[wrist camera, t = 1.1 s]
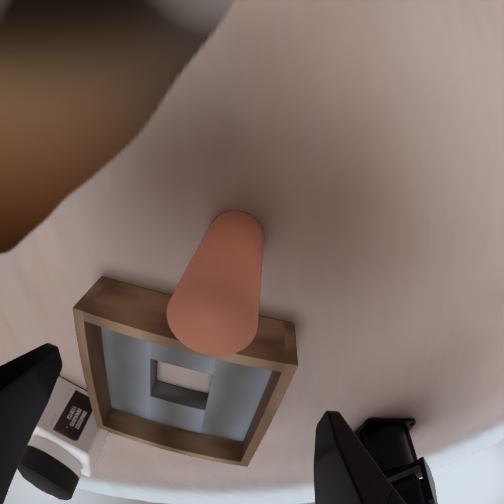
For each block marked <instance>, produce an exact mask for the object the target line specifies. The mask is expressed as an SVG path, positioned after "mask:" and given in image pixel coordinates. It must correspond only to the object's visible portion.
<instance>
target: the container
mask: <svg viewBox="0 0 504 504" xmlns="http://www.w3.org/2000/svg"><path fill="white" fill-rule="evenodd" d="M108 434H109V431H106V430H104V429H101V428H98V427H97V425H96V422H95V418H94V414H93V411H92V407H91V403H90V399H89V395H88V392H87V391H85V390H83V389H81V388H80V387H78V386H76V385H74V384H72V383H70V382H68V381H67V380H65V379H63V378H61V377H58V379H57V381H56V384H55V386H54V389H53V392H52V394H51V397H50V399H49V402H48V404H47V406H46V408H45V410H44V412H43V414H42V416H41V418H40V420H39V422H38V424H37V426H36V428H35V430H34V432H33V434H32V436H31V439H32V440H30V441H29V443H28V445H27V447H26V449H25V451H24V453H23V456H22V458H21V460H20V463H19V465H18V467H17V469H18V470H19V472H20V473H21V475H22V476H23V477H24V478H25V479H26V480H27V481H28V482H30V483H31V484H32V485H34V486H35V487H36V488H38V489H40V490H41V491H43V492H45V493H46V494H48V495H50V496H52V497H54V498H57V499H62V500H69V499H71V498H72V495H73V493H74V490H75V488H76V486H77V483H78V481H79V478H80V476H81V473H82V474H84V475H86V476H88V477H89V476H91V474H92V472H93V469H94V467H95V464H96V462H97V460H98V457H99V455H100V452H101V450H102V448H103V445H104V443H105V441H106V438H107V436H108Z"/></svg>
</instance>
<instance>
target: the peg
mask: <svg viewBox="0 0 504 504" xmlns="http://www.w3.org/2000/svg"><path fill="white" fill-rule="evenodd" d="M263 243H264V235H263V230H262V228H261V226H260V224H259V223H258V221H257V220H256V219H255V218H254V217H252V216H251V215H249V214H247V213H245V212H241V211H228V212H225V213H222V214H221V215H219V216H218V217H216V218H215V219H214V221H213V222H212V223H211V225H210V227H209V229H208V230H207V232H206V234H205V236H204V238H203V239H202V241H201V243H200V245H199V247H198V248H197V250H196V252H195V254H194V256H193V257H192V259H191V261H190V263H189V265H188V267H187V269H186V270H185V272H184V274H183V276H182V278H181V280H180V282H179V284H178V285H177V287H176V289H175V291H174V293H173V295H172V297H171V299H170V301H169V303H168V306H167V321H168V324H169V327H170V329H171V331H172V332H173V334H174V335H175V336H176V338H177V339H178V340H179V341H180V342H181V343H183V344H184V345H185V346H187V347H188V348H190V349H192V350H194V351H196V352H199V353H202V354H206V355H211V356H225V355H230V354H234V353H237V352H239V351H241V350H242V349H244V348H245V347H247V346H248V345H249V344H250V343H251V342H252V340H253V339H254V337H255V335H256V332H257V328H258V316H259V301H260V287H261V273H262V258H263Z"/></svg>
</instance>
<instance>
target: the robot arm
mask: <svg viewBox="0 0 504 504" xmlns="http://www.w3.org/2000/svg"><path fill="white" fill-rule="evenodd" d="M61 369H62V360H61V357H60V353H59V349H58V347H57V346H55V345H52V344H50V343H46V344H44V345H42V346H40V347H38V348H36V349H34V350H32V351H30V352H28V353H26V354H24V355H22V356H20V357H18V358H16V359H14V360H12V361H10V362H8V363H6V364H4V365H2V366H0V504H3V502H4V500H5V497H6V495H7V492H8V489H9V486H10V484H11V481H12V479H13V477H14V474H15V472H16V469H17V467H18V465H19V463H20V460H21V458H22V456H23V453H24V451H25V449H26V447H27V445H28V443H29V440H30V438H31V436H32V434H33V432H34V430H35V428H36V426H37V424H38V422H39V420H40V418H41V416H42V414H43V412H44V410H45V408H46V406H47V404H48V402H49V399H50V397H51V394H52V392H53V389H54V386H55V384H56V381H57V379H58V377H59V374H60V372H61ZM415 423H416V421H415V419H368V420H367V421H366V422H365V423H364V424H363V425H362V427H361V428H360V429H359V430H358V432H357V433H356V434H354V432H353V431H352V429H351V428H350V427H349V425H348V424H347V422H346V421H345V420H344V418H343V417H342V415H341V414H340V413H339V412H337V411H326V412H325V413H324V415H323V416H322V418H321V420H320V421H319V423H318V424H317V427H316V439H315V455H314V488H315V504H438V503H437V496H436V490H435V484H434V480H433V477H432V474H431V471H430V468H429V466H428V464H427V463H426V461H425V459H424V457H421V458H419V459H418V460H417V456H416V453H415V450H414V446H413V443H412V440H411V437H410V433H409V430H410V429H411V428H412V427H413V426H414V425H415ZM421 477H423V478H422V479H419V478H421Z"/></svg>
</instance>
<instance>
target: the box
mask: <svg viewBox="0 0 504 504" xmlns="http://www.w3.org/2000/svg"><path fill="white" fill-rule="evenodd" d="M171 297H172V296H171V295H167V294H163V293H160V292H156V291H152V290H148V289H145V288H141V287H137V286H134V285H130V284H126V283H123V282H119V281H116V280H112V279H109V278H106V277H101V278H100V279H99V280H98V281H97V282H96V283H95V284H94V285H93V286H92V287H91V288H90V289H89V290H88V292H87V293H86V294H85V295H84V296H83V297H82V298H81V299H80V300H79V301H78V303H77V304H76V305H75V306H74V307H73V313H74V321H75V328H76V335H77V341H78V347H79V353H80V358H81V363H82V368H83V373H84V378H85V382H86V387H87V391H88V395H89V399H90V403H91V407H92V411H93V414H94V418H95V422H96V425H97V427H98V428H101V429H104V430H106V431H109V432H112V433H114V434H117V435H120V436H123V437H126V438H129V439H132V440H135V441H138V442H141V443H144V444H147V445H151V446H154V447H158V448H161V449H165V450H169V451H172V452H176V453H180V454H184V455H188V456H193V457H197V458H202V459H207V460H212V461H217V462H222V463H228V464H234V465H240V466H248V464H249V463H250V461H251V459H252V457H253V455H254V454H255V452H256V450H257V448H258V446H259V444H260V442H261V440H262V438H263V437H264V435H265V433H266V431H267V429H268V427H269V425H270V423H271V421H272V419H273V417H274V415H275V413H276V411H277V409H278V407H279V405H280V403H281V401H282V399H283V397H284V394H285V392H286V390H287V388H288V386H289V384H290V382H291V380H292V377H293V375H294V373H295V371H296V369H297V367H298V360H297V348H296V336H295V325H294V323H290V322H285V321H280V320H275V319H270V318H266V317H261V316H258V328H257V332H256V335H255V337H254V339H253V340H252V342H251V343H250V344H249V345H248V346H247V347H245V348H244V349H242V350H241V351H239V352H237V353H234V354H230V355H225V356H211V355H206V354H202V353H199V352H196V351H194V350H192V349H190V348H188V347H187V346H185V345H184V344H183V343H181V342H180V341H179V340H178V339H177V338H176V336H175V335H174V334H173V332H172V331H171V329H170V327H169V324H168V321H167V306H168V303H169V301H170V299H171ZM157 361H161V362H165V363H168V364H172V365H176V366H180V367H183V368H187V369H191V370H195V371H199V372H204V373H208V374H212V375H213V377H212V381H211V386H210V391H209V394H206V393H202V392H197V391H193V390H189V389H185V388H181V387H177V386H174V385H170V384H166V383H163V382H159V381H156V375H157Z"/></svg>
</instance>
